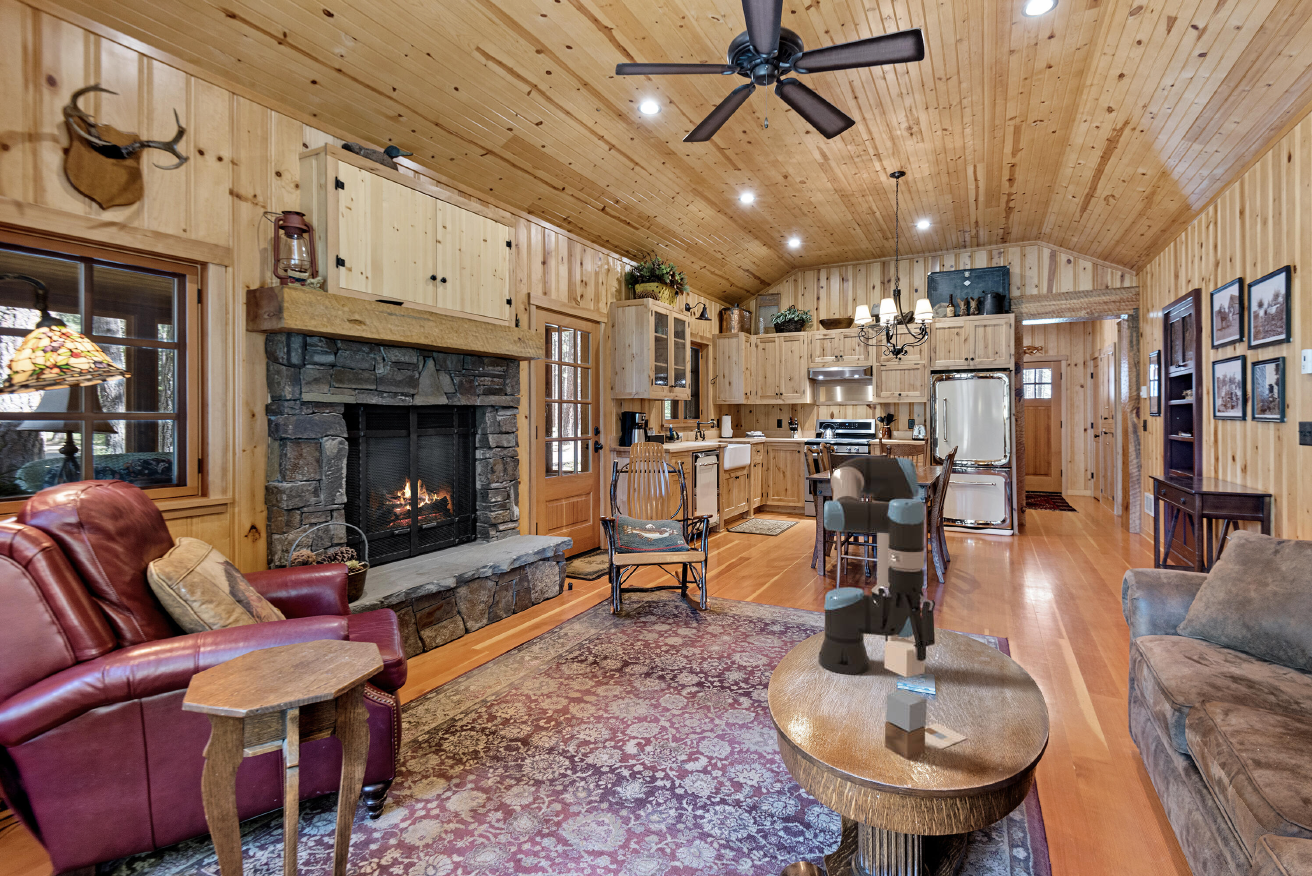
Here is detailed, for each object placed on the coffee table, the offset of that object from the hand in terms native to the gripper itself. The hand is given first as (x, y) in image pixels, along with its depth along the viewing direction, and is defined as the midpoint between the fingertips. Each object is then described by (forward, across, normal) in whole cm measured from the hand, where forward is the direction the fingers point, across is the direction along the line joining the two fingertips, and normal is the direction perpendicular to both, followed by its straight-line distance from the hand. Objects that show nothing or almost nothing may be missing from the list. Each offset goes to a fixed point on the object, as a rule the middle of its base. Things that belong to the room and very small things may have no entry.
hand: (904, 668), depth 136 cm
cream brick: (0, 0, 0) cm, 0 cm away
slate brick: (+12, 0, 0) cm, 12 cm away
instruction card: (+19, 0, +12) cm, 22 cm away
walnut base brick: (+19, 0, 0) cm, 19 cm away
